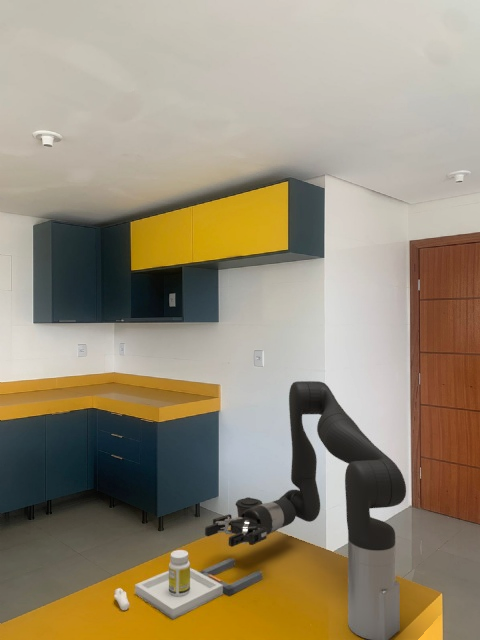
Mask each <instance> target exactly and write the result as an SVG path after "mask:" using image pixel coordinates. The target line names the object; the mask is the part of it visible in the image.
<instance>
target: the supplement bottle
mask: <svg viewBox="0 0 480 640" xmlns="http://www.w3.org/2000/svg"><path fill="white" fill-rule="evenodd" d="M190 568H191V563H190V561H189V552H188V551H187V550H184V549H177V550H174V551H172V552H171V553H170V562H169V564H168V571H169V592H170V594H172V595H174V596H183V595H186V594H187V593H189V591H190Z"/></svg>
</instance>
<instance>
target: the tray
mask: <svg viewBox="0 0 480 640" xmlns="http://www.w3.org/2000/svg"><path fill="white" fill-rule="evenodd" d="M199 572H200V571H198V570H196V569H193V568H191V567H190V591H189V593H187V594H186V595H183V596H174V595H172V594H170V592H169V570H167V571H164V572H162V573H159V574H157V575H154V576H152V577H150V578H148V579H145V580H143V581H141V582H138V583H135V584H134V594H135V595H136V596H137V595H138V597H139V598H140V597H141V599H142V600H144V601H145V602H146V603H148V604H149V605H150V606H152V607H154V608H155V609H157V610H158V611H160V612H161V613H163V614H164V615H165V616H167V617H169V618H170V619H171V620H175V619H177V618H179V617H181V616H183V615H185V614H187V613H188V612H191V611H193V610H195V609H197V608H199V607H201V606H203V605H204V604H207V603H209V602H211V601H213V600H215V599H216V598H219V597H221V596H223V595H224V593H223V585H222V584H220V583H218V582H216V581H214V580H212V579H211V578H209V577H207V576H205V575H203V574H201V573H199Z"/></svg>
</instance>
